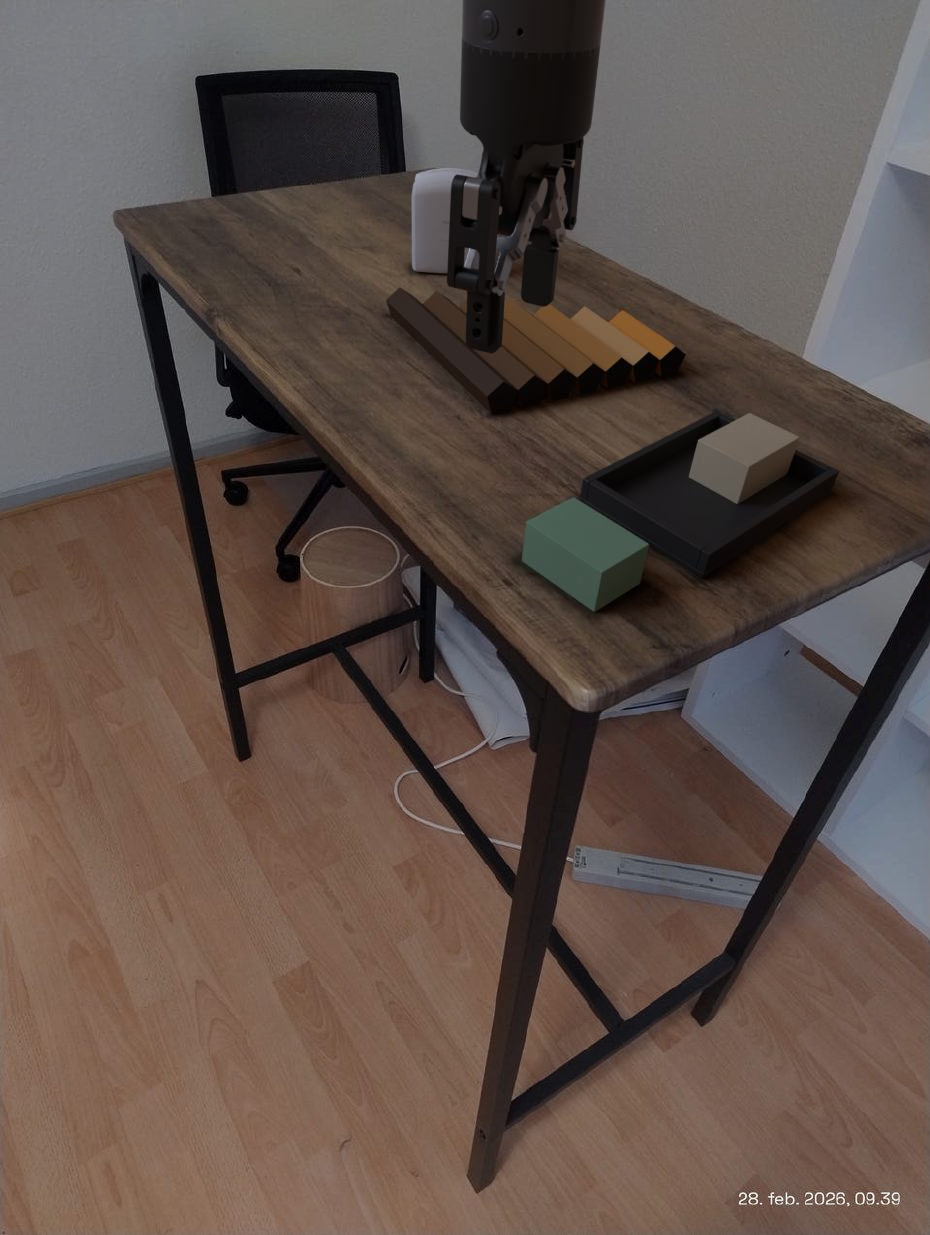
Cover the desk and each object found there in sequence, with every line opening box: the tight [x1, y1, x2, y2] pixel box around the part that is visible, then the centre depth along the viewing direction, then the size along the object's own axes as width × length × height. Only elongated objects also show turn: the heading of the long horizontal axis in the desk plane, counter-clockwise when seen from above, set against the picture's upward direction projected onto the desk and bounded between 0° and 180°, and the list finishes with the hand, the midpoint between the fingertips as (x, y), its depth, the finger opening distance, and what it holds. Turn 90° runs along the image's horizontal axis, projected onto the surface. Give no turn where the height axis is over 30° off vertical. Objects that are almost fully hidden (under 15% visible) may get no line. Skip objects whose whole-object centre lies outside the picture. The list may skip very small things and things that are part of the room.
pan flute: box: [385, 286, 687, 415], centre depth 99 cm, size 25×3×25 cm
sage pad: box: [521, 496, 650, 613], centre depth 69 cm, size 6×8×4 cm
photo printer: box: [411, 167, 479, 274], centre depth 111 cm, size 10×4×12 cm, turn 88°
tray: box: [578, 410, 840, 579], centre depth 78 cm, size 14×20×2 cm
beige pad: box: [689, 412, 801, 504], centre depth 79 cm, size 6×8×4 cm
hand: (511, 324), depth 58 cm, fingers open, 8 cm apart
